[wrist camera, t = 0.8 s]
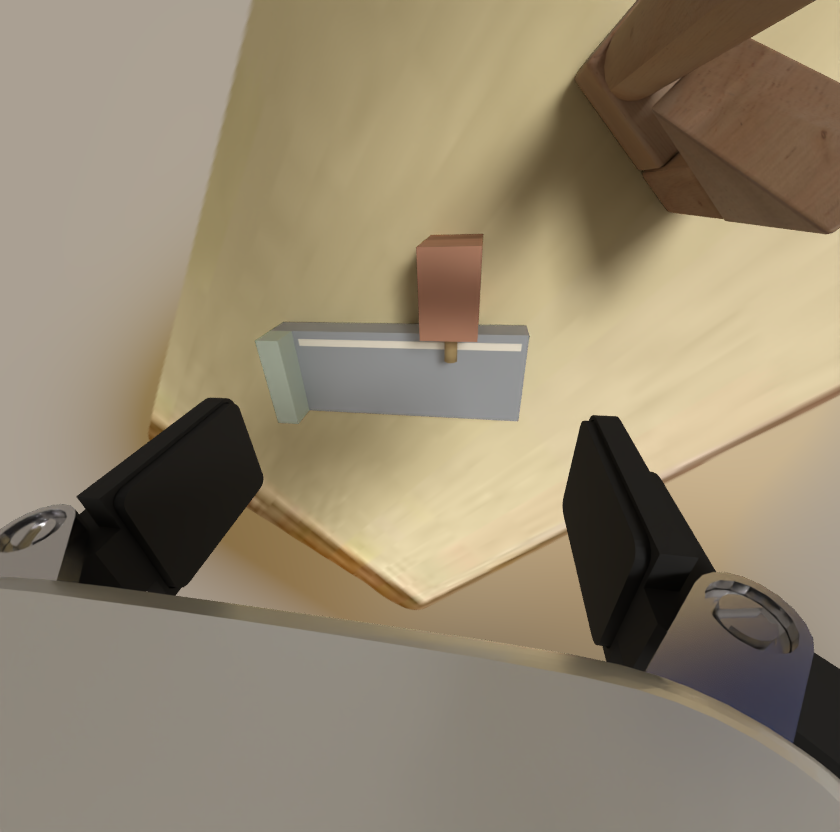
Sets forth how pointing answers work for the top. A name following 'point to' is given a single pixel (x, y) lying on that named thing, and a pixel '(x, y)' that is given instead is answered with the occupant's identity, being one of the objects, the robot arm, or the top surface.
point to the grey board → (392, 371)
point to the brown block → (449, 289)
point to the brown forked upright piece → (720, 113)
